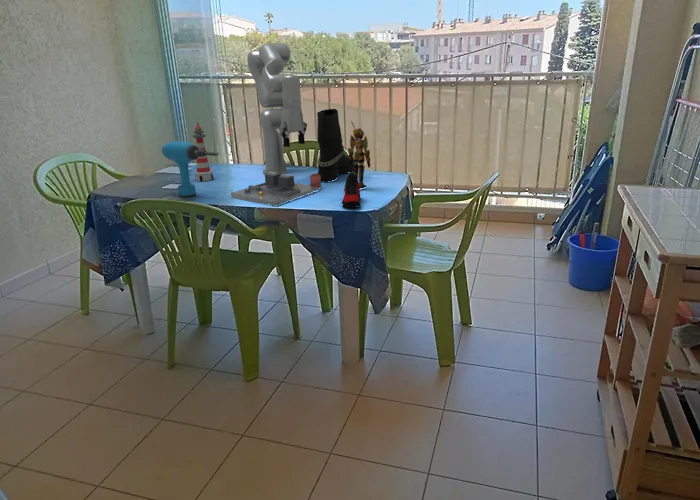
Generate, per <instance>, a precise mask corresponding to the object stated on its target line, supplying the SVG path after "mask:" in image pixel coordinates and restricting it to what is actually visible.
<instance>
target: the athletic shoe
mask: <svg viewBox="0 0 700 500" xmlns="http://www.w3.org/2000/svg"><path fill="white" fill-rule="evenodd" d="M359 189H360V187H359V179H357V178H355V175H354V174H353V172H352V173H349V174H348V175H347V177H346V180H345V184H344V188H343V192H344V195H343V198H342V201H341V205H342V204H343V206H348V207H347V208H357V207H356V206H360V204H361V201H360V200H359V198H360V196H361V190H359ZM360 199H361V198H360ZM343 206H342V207H343ZM360 207H361V206H360Z"/></svg>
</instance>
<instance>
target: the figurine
mask: <svg viewBox="0 0 700 500" xmlns="http://www.w3.org/2000/svg"><path fill="white" fill-rule="evenodd" d="M350 123H351V125H352V127H353V129H352V130H353V131H352V133H353V134H351V135H350V139H349V140H350V141H349V144H350V145H349V147H348V148H347V150H348V151H347V152H348V156H349V160H350V165H351V166H352V161H354V171H353V172H352V173H353V174H354V175H355V178H357V180H358V183H359V187H360V188H364V187H367V185H366V184H364V174H365V167H366V166H365V164H364V163H365V161H366V164H367V168H371V157H370V149H368V147H369V146H368V145H369V143H368V137H367V135H365V131H363V130H362V129H361V127H359V128H355V125H354V122H353V121H352V120H351V121H350ZM364 135H365V136H364ZM354 150H355V151H354Z"/></svg>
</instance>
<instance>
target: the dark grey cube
mask: <svg viewBox="0 0 700 500" xmlns="http://www.w3.org/2000/svg"><path fill="white" fill-rule="evenodd" d="M268 173H269V174H264V181H265V182H264V183H265V184H266V185H276V184H278V177H280V176H282V174H278V173H274V172H268Z"/></svg>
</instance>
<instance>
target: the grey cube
mask: <svg viewBox="0 0 700 500" xmlns="http://www.w3.org/2000/svg"><path fill="white" fill-rule="evenodd" d="M294 183H295V176H294V175H291V174H287V173H285V174H281V176H280V177H278V185H279V187H290V186H293V185H294Z"/></svg>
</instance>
